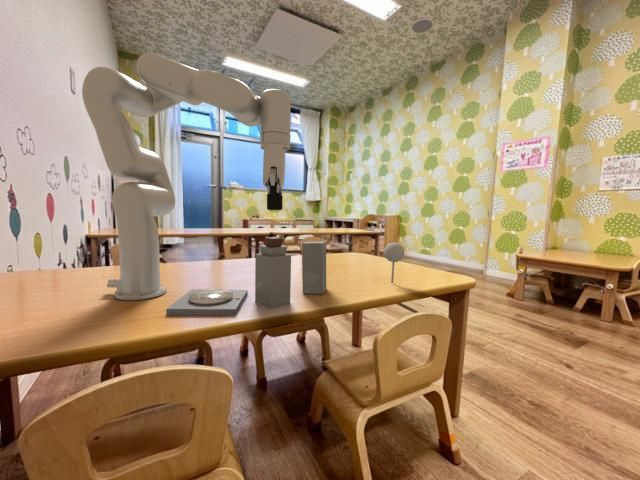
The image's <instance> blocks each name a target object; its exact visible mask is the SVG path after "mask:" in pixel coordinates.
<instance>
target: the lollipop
mask: <svg viewBox="0 0 640 480" xmlns="http://www.w3.org/2000/svg"><path fill="white" fill-rule="evenodd" d="M383 255H384V258H385V259H386V260H387V261H389V262H391V263H392V264H391V281H390V284H391V283H393V284H394V278H395V277H394V273H395V272H394V271H395V263H398V262H400V261H402V260H403V259H404V256H405V248H404V247H403V246H402V244H401V243H398V242H396V241H395V242H390V243H388V244H387V245H385V247H384V249H383Z"/></svg>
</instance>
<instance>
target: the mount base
mask: <svg viewBox="0 0 640 480" xmlns="http://www.w3.org/2000/svg"><path fill="white" fill-rule="evenodd" d="M247 296H248V289H225V288H224V289H223V288H207V289H198V288H197V289H196V288H194V289H190V290H189V291H188V292H186V293H185V294H184V295H182V296H181V297H180V298H178V299H177V300H176V301H174V302H173V303H172V304H171V305H169V306H168V307H166V309H165V310H166V311H165V314H166V315H165V316H237V314H238V312H239V310H240V309H241V307H242V305H243V303H244V302H245V300H246V298H247Z"/></svg>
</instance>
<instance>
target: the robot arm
mask: <svg viewBox="0 0 640 480" xmlns="http://www.w3.org/2000/svg"><path fill="white" fill-rule="evenodd" d="M136 70H137V71H136V72H137V74H138V77H139V78H140V79H141V81H142V82H143V83H144V84H145V85H143V84H141V83H140V82H137V81H136V80H134V79H132V78H131V77H129V76H127V75H126V74H124V73H122V72H120V71H118V70H116V69H113V68H110V67H107V66H98V67H94V68H92V69H90V71H88V72H87V74H86V75H85V77H84V79H83V82H82V89H81V93H82V100H83V104H84V107H85V109H86V112H87V114H88V117H89V119H90V121H91V123H92V125H93V128H94V130H95V131H94V132H95V133H96V138H97V140H98V143H99V145H100V146H99V147H100V149H101V151H102V155H103V158H104V160H105V163H106V166H107V168H108V170H109V172H110V173H111V174H112V175H113V176H115V177H117V178H120V179H125V180H131V181H128V182H127V181H126V182H123V183H121V184H119V185H117V186H116V188H115V189H114V191H112V195H111V202H112V207H113V210H114V213H115V214H114V215H115V217H116V222H117V223H116V224H117V235H118V251H119V253H118V254H119V271H120V272H119V274H120V279H119V278H118V279H117V278H115V279H113V278H111V279H108V281H107V284H106V287H107V288H111V289H112V288H116V290H115V292H114V298H115V299H116V300H121V301H139V300H140V301H141V300H148V299H153V298H156V297H160V296H163V295H164V294H166V292H167V287H166V286H165V285H162V284H161V268H160V267H161V266H160V265H161V264H160V260H161V259H160V239H159V236H160V235H159V228H158V225H157V222H156V221H155V218H154V217H163V216H167V215H169V214H171V213H172V212H173V211H174V209H175V206H176V197H175V192H174V189H173V186H172V183H171V180H170V177H169V174H168V170H167V167H166V166H165V163H164V161H163V160H162V158H161V157H160V156H159V155H158V154H157V153H155V152H154V151H152V150H149V149H146V148H143V147H141V146H140V145H139V144H138V140H137V139H136V136H135V133H134V129H133V127H132V125H131V123H130V121H129V120H128V118H127V117H126V116H125V114H124V112H123V111H125V112H127V113H130V114H133V115H134V116H137V117H140V118H150V117H154V116H156V115H158V114H160V113H162V112H165V111H166V110H168V109H170V108H173V107H175V106H177V105H179V104H180V103H182V102H184V103H187V104H190V105H192V106H199V105H201V104H202V103H204V104H208V105H210V106H213V107H215V108H218V109H220V110H222V111H225V112H227V113H229V114H230V115H232V116H233V117H234V118H236V120H237V121H239V122H240V123H241V124H243V125H245V126H246V127H260V149H261V150H263V159H262V162H263V163H262V165H263V166H262V185H263V186H264V187H265V188H267V193H266V209H267V210H268V211H282V210H283V190H282V189H283V188H284V187H285V180H286V179H285V176H286V175H285V174H286V152H288V151H290V150H291V97H290V95H289V94H288V92H286V91H285V90H282V89H277V88H269V89H265V90H264V91H262V93H261V95H260V96H258V95H256V94H255V93H254V92H253V91H252V89H251V88H250V87H249V86H248V85H247V84H246V83H244V82H243V81H240V80H239V79H237V78H234V77H231V76H228V75H227V74H224V73H221V72H219V71H216V70H211V69H196V68H194V67H191V66H189V65H186V64H183V63H181V62H178V61H175V60H173V59H170V58H168V57H165V56H162V55H160V54H156V53H152V52H151V53H144V54H142V55H141V56H139V58H138V59H137V62H136ZM122 110H123V111H122Z"/></svg>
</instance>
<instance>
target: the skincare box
mask: <svg viewBox="0 0 640 480" xmlns="http://www.w3.org/2000/svg"><path fill="white" fill-rule="evenodd" d="M301 264H302V266H301V267H302V268H301V270H302V272H301V273H302V274H301V275H302V277H301V278H302V280H301V281H302V294H309V295H310V294H313V295H320V296H321V295H323V294H324V292H325V291H326V290H327V241H309V240H307V241H304V242H301Z"/></svg>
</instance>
